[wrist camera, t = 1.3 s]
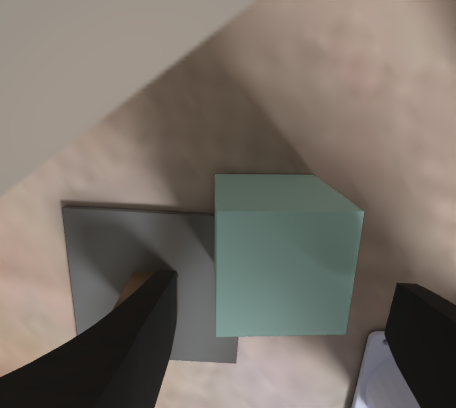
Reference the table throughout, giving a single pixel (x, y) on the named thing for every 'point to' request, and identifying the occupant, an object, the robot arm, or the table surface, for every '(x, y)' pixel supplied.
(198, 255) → the peg stand
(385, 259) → the table surface
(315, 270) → the mint green cube
